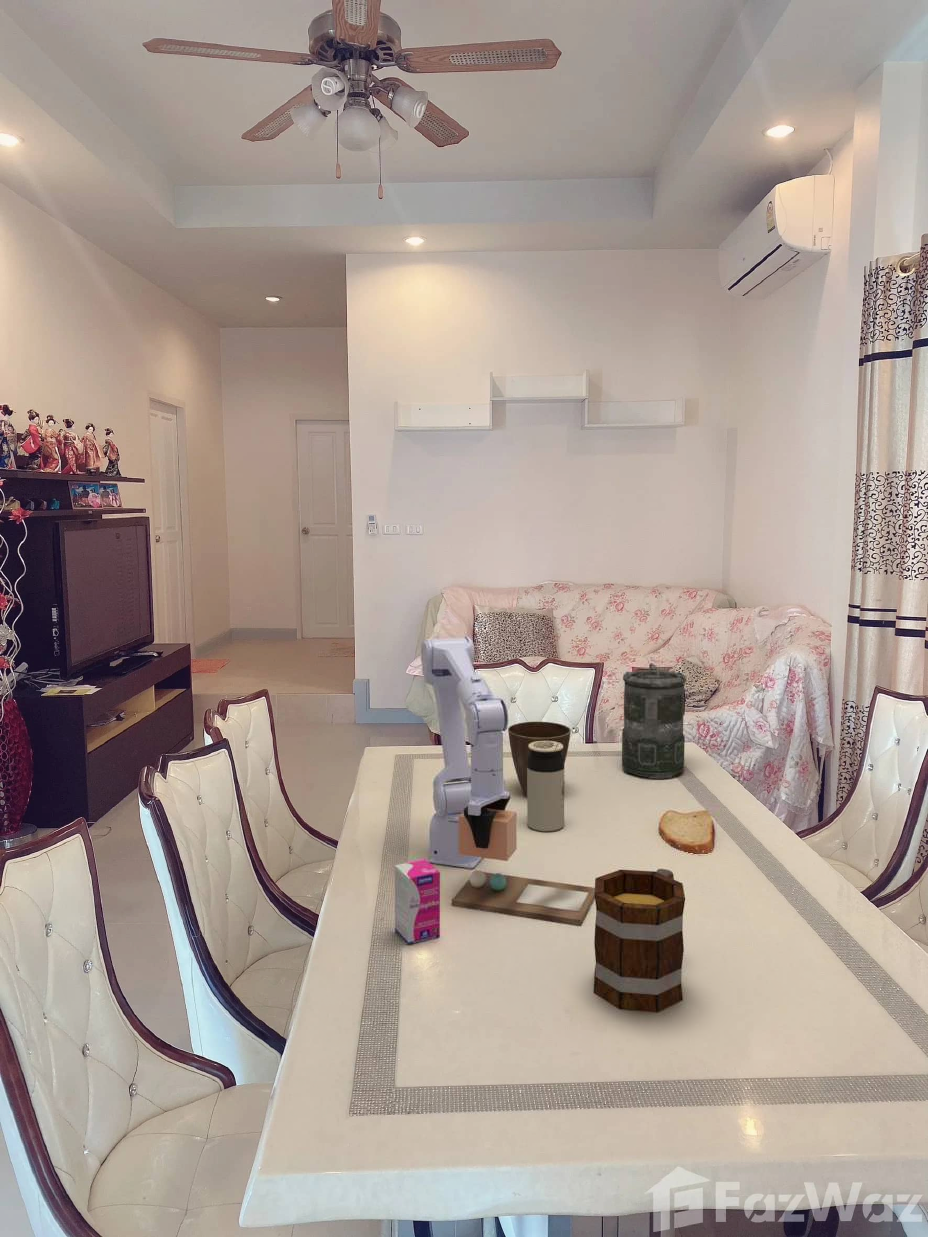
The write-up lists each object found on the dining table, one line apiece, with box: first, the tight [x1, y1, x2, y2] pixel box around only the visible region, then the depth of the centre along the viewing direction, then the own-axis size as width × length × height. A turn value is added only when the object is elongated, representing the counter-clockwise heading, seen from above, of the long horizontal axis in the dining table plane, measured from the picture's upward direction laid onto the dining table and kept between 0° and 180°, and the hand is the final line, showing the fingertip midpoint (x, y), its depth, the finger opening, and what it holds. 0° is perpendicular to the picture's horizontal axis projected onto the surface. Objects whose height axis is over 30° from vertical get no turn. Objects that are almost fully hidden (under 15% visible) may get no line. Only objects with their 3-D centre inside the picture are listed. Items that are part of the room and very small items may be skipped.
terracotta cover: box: [458, 808, 518, 862], centre depth 158 cm, size 9×6×7 cm, turn 70°
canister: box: [621, 662, 687, 780], centre depth 229 cm, size 16×16×28 cm
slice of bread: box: [658, 810, 716, 855], centre depth 187 cm, size 18×18×4 cm
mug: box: [593, 868, 686, 1014], centre depth 130 cm, size 20×14×15 cm
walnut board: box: [451, 871, 595, 927], centre depth 157 cm, size 23×13×1 cm, turn 70°
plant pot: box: [507, 721, 572, 797], centre depth 213 cm, size 15×15×16 cm
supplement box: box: [394, 859, 441, 945], centre depth 144 cm, size 6×6×12 cm
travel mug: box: [526, 741, 565, 832], centre depth 192 cm, size 8×8×18 cm
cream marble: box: [469, 870, 486, 888], centre depth 160 cm, size 3×3×3 cm
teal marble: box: [490, 872, 506, 891], centre depth 159 cm, size 3×3×3 cm
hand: (487, 841), depth 158 cm, fingers closed on terracotta cover, 6 cm apart
